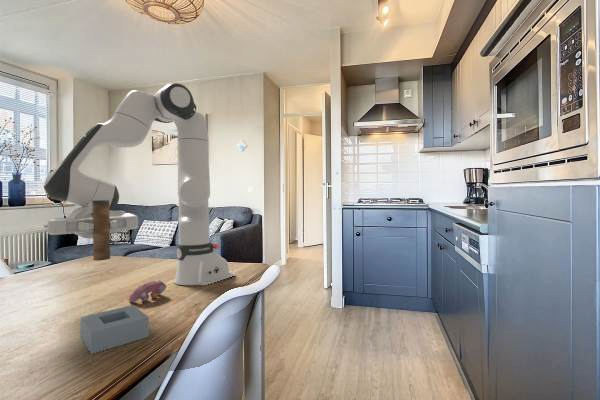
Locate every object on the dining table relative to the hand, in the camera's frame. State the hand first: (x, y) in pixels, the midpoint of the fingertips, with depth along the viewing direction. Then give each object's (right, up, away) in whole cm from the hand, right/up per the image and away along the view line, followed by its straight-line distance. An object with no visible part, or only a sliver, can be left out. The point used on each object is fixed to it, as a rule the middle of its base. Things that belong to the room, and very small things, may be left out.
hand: (102, 226), depth 77 cm
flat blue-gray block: (+8, -25, -8) cm, 27 cm away
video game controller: (+3, -25, +17) cm, 30 cm away
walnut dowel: (-1, -8, +1) cm, 9 cm away
